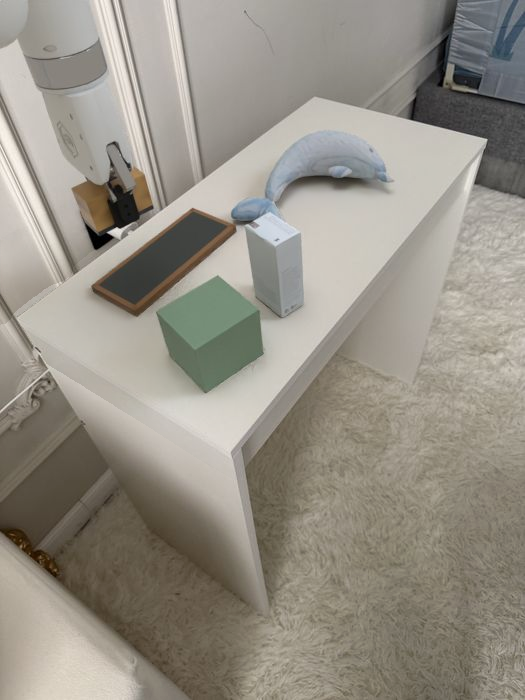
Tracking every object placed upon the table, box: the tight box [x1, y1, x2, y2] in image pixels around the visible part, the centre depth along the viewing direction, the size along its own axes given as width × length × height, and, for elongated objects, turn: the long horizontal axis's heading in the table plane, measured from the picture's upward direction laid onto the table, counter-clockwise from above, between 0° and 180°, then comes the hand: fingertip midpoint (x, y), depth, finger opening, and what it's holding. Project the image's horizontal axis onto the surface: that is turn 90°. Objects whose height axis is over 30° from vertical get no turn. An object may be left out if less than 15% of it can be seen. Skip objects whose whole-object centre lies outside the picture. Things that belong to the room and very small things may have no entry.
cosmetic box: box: [244, 212, 305, 318], centre depth 67 cm, size 6×4×12 cm
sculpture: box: [230, 129, 395, 223], centre depth 84 cm, size 18×8×25 cm
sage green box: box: [155, 274, 264, 394], centre depth 63 cm, size 9×8×8 cm
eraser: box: [71, 165, 155, 237], centre depth 65 cm, size 8×4×5 cm, turn 130°
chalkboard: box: [90, 207, 237, 317], centre depth 78 cm, size 22×9×1 cm, turn 144°
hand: (118, 213), depth 67 cm, fingers closed on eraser, 4 cm apart
